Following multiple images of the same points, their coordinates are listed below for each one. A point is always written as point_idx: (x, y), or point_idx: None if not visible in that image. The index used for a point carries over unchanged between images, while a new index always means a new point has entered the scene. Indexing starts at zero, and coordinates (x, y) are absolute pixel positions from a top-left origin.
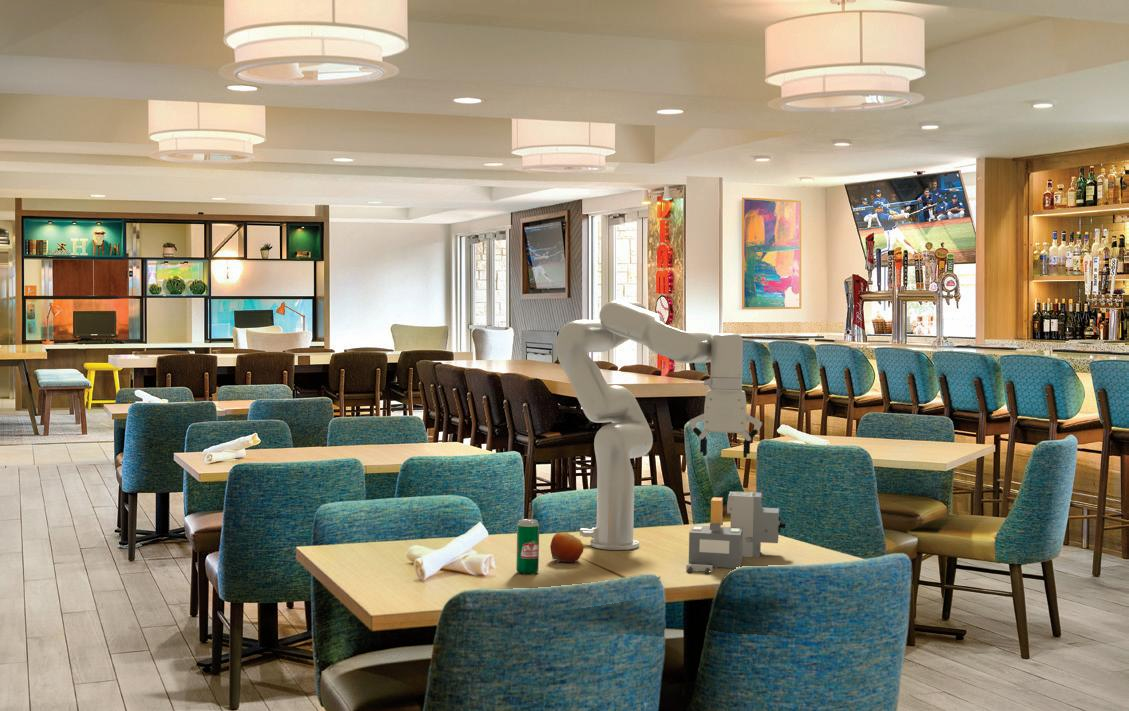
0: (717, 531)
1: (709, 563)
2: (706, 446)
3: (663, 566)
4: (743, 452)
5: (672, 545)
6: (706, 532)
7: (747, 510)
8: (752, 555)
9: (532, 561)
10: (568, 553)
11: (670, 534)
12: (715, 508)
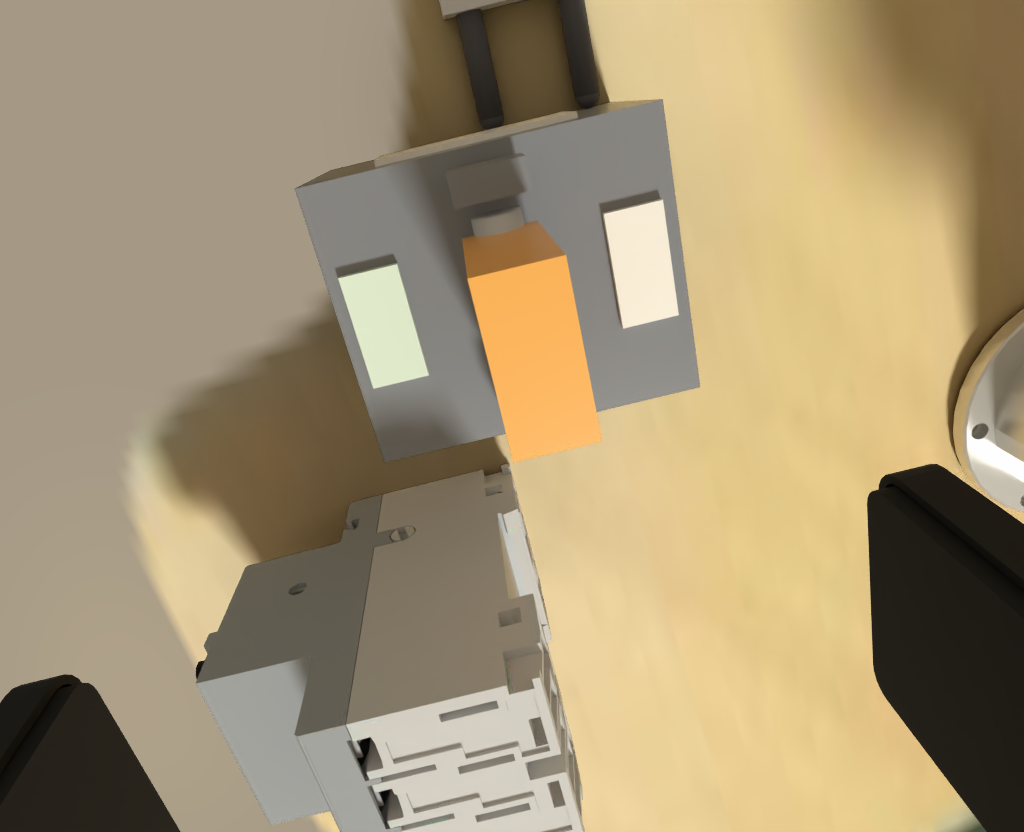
0: None
1: (491, 113)
2: (990, 725)
3: (738, 12)
4: (33, 750)
5: (804, 547)
6: (547, 164)
7: (398, 639)
8: (382, 498)
9: None
10: None
11: (856, 741)
12: (514, 251)
